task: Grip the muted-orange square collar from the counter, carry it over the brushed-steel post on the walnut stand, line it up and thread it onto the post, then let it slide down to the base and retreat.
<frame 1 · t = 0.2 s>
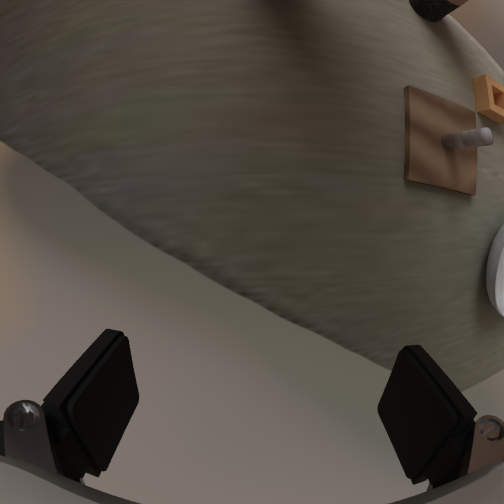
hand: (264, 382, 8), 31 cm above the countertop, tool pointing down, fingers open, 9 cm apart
travel mug: (424, 8, 28), on the countertop
collar: (486, 101, 32), on the countertop
serving bowl: (503, 257, 39), on the countertop
post stand: (441, 142, 35), on the countertop
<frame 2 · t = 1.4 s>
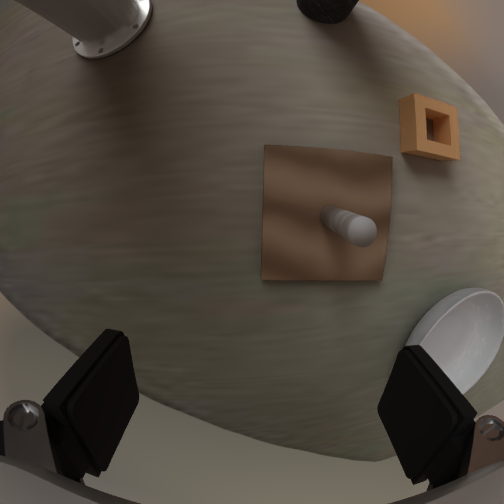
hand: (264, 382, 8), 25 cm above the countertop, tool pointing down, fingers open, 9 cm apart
travel mug: (322, 5, 25), on the countertop
collar: (421, 130, 29), on the countertop
serving bowl: (439, 335, 36), on the countertop
post stand: (327, 214, 32), on the countertop
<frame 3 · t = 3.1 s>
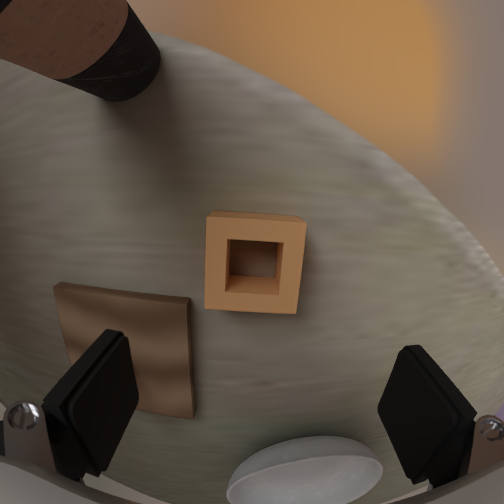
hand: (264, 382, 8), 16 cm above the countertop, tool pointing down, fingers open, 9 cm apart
travel mug: (126, 69, 20), on the countertop
collar: (253, 254, 24), on the countertop
serving bowl: (301, 457, 32), on the countertop
post stand: (126, 353, 27), on the countertop
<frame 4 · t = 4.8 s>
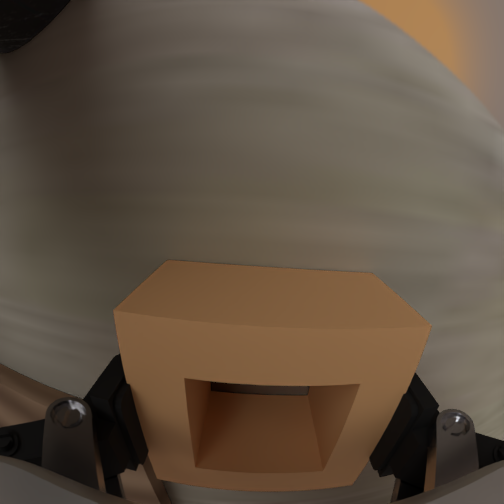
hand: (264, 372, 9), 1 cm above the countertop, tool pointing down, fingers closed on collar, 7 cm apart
travel mug: (39, 0, 6), on the countertop
collar: (263, 356, 10), on the countertop, touching gripper
post stand: (69, 452, 13), on the countertop
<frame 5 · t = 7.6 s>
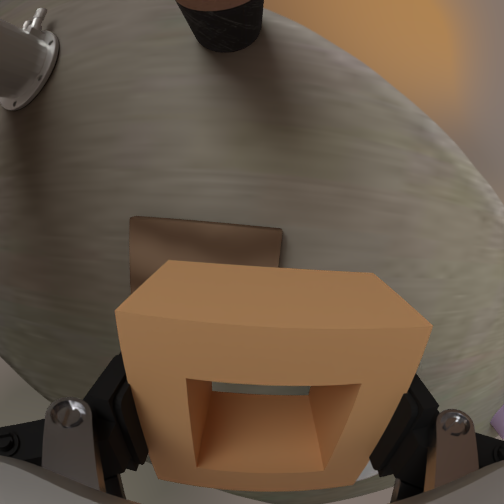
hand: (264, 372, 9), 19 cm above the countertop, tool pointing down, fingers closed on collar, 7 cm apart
travel mug: (227, 28, 23), on the countertop
collar: (264, 356, 10), point 18 cm above the countertop, touching gripper
post stand: (201, 292, 29), on the countertop
when the fingers open (10 cm above the countertop, at t = 10.7 s): collar drops 8 cm, resting on post stand.
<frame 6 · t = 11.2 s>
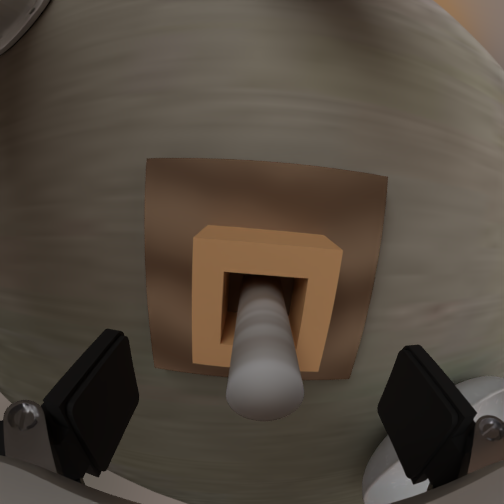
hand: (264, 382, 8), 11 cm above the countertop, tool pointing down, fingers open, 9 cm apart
collar: (261, 285, 18), point 1 cm above the countertop, touching post stand
serving bowl: (429, 422, 24), on the countertop
post stand: (260, 277, 19), on the countertop
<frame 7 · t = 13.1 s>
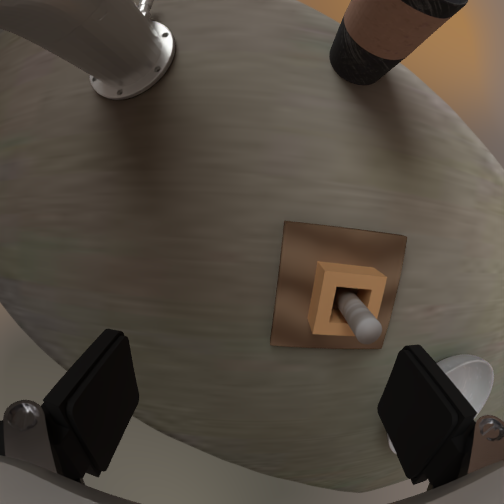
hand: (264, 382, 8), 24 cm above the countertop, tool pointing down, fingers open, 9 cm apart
travel mug: (355, 62, 27), on the countertop
collar: (341, 293, 32), point 1 cm above the countertop, touching post stand
serving bowl: (429, 391, 37), on the countertop
post stand: (337, 289, 33), on the countertop
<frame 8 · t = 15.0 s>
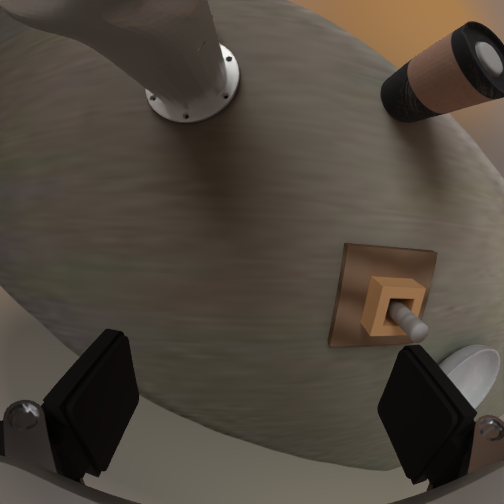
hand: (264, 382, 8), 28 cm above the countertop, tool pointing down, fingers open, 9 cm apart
travel mug: (401, 100, 31), on the countertop
collar: (387, 300, 36), point 1 cm above the countertop, touching post stand
serving bowl: (447, 376, 42), on the countertop
post stand: (383, 296, 38), on the countertop
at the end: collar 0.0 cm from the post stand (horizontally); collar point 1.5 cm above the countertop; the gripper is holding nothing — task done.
